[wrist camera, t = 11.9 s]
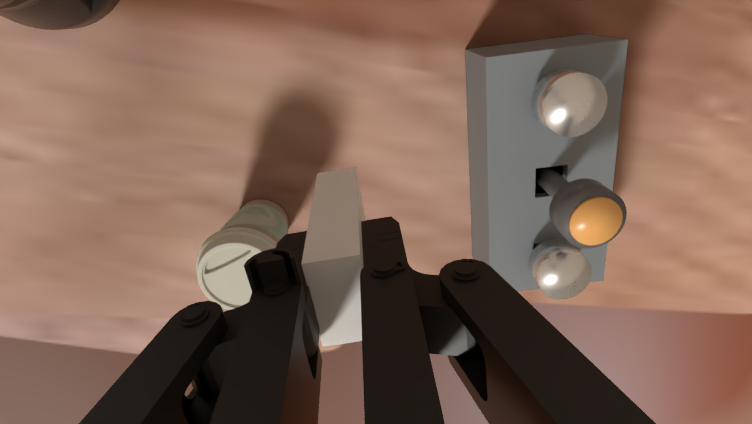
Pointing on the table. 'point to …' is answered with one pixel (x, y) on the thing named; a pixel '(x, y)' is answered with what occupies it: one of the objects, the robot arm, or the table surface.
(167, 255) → the table surface
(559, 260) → the knob
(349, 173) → the robot arm
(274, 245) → the coffee cup
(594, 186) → the pot knob
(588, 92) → the knob
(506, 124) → the console
